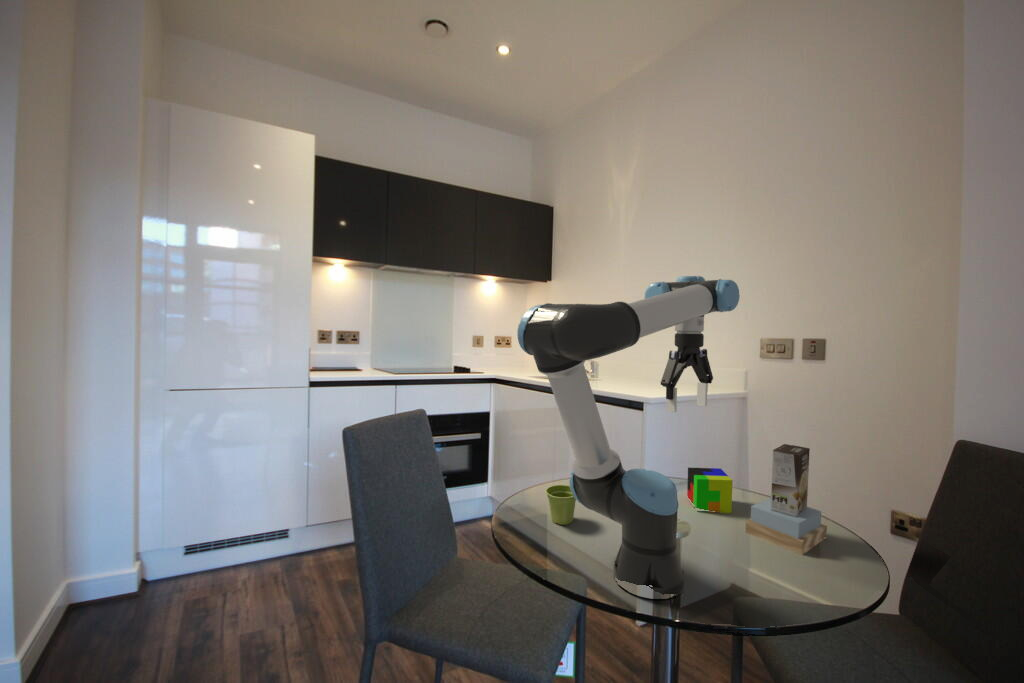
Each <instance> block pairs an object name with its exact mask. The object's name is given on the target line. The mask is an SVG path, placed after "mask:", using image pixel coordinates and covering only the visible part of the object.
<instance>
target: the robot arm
mask: <svg viewBox="0 0 1024 683" xmlns="http://www.w3.org/2000/svg"><path fill="white" fill-rule="evenodd" d="M740 296H741V295H740V289H739V286H738V284H737V282H735V280H732V279H721V278H720V279H719V278H718V279H712V280H711V279H710V280H706V279H705V277H703V276H701V275H682V276H679V277H677V278H676V281H673V282H672V281H670V282H667V281H666V282H665V281H658V282H657V281H656V282H652V283H650V284H649V285H648V286H647V288H646V289H645V292H644V298H642V299H640V300H637V301H633V302H629V303H627V302H625V301H615V302H611V303H604V304H603V303H602V304H601V303H600V304H597V303H595V304H591V303H590V304H589V303H548V302H547V303H544V304H537V305H535V306H532V307H530V308H529V309H527V310H526V311H525V312H524V313H523V315H522V317H521V318H520V322H519V324H518V327H517V330H516V331H517V332H516V333H517V341H518V345H519V346H520V348H521V349H522V350H523V352H525V353H526V354H527V355H530V356H533V359H534V362H535V364H536V367H537V371H538V372H539V373H541V374H543V375H545V376H547V379H548V382H549V385H550V388H551V391H552V394H553V396H554V399H555V402H556V403H555V404H556V405H557V408H558V412H559V414H560V417H561V420H562V423H563V427H564V429H565V433H566V435H567V439H568V441H569V444H570V446H571V449H572V452H573V455H574V459H575V460H574V462H573V463H572V468H571V471H570V476H571V477H570V478H569V480H568V482H569V486H570V489H571V492H572V494H573V496H574V498H575V499H576V501H577V502H578V503H579V504H581V505H582V506H583V507H585V508H587V509H588V510H591V511H594V512H595V513H597V514H600V515H602V516H604V517H605V518H608V519H609V520H612V521H614V522H616V523H618V524H619V525H621V544H620V547H619V549H618V552H617V554H616V557H615V560H614V563H613V574H614V575H613V577H614V576H615V577H616V578H617V579H618V580H620V581H626V582H629V583H633V584H636V585H646V586H649V585H652V586H653V587H650V586H649V587H650V588H651V589H653V590H654V591H655V592H659V593H661V594H663V595H664V594H676V595H677V594H679V593H680V592H681V591H682V590H683V591H684V589H683V588H685V574H684V571H683V568H682V566H681V561H680V558H679V554H678V551H677V550H678V549H677V541H678V540H677V537H678V510H679V500H678V489H677V486H676V485H675V482H673V480H672V479H670V478H669V477H668V476H666V475H665V474H662V473H661V472H658V471H655V470H651V469H649V470H648V469H646V468H632V469H629V470H625V469H624V467H623V465H622V460H621V458H620V455H619V454H618V452H616V451H615V450H614V449H611V447H610V444H609V441H608V438H607V435H606V431H605V428H604V424H603V422H602V418H601V416H600V412H599V408H598V406H597V402H596V399H595V396H594V393H593V389H592V387H591V384H590V380H589V376H588V373H587V371H586V367H585V365H584V364H585V362H586V361H591V360H594V359H595V360H596V359H598V358H602V357H605V356H609V355H611V354H615V353H618V352H620V351H623V350H625V349H628V348H630V347H633V346H634V345H636V344H637V343H638V341H640V339H641V338H643V337H646V336H649V335H652V334H654V333H658V332H661V331H663V330H666V329H668V328H671V327H674V331H675V334H674V346H675V347H677V350H669V353H668V359H667V363H666V365H665V368H664V372H663V374H662V378H661V380H660V385H661V386H662V387H665V398H666V412H667V411H668V412H673V413H676V412H677V409H678V408H677V407H678V404H677V403H678V402H677V401H678V400H677V399H678V387H676V386H677V384H678V382H679V380H680V378H681V376H682V374H683V372H684V371H685V369H687V368H688V367H691V368H692V370H693V372H694V374H695V375H696V377H697V380H698V382H696V383H697V384H696V385H697V387H696V388H697V389H696V405H697V406H701V407H707V406H708V405H707V404H708V403H707V402H708V389H709V388H708V386H709V384H712V382H713V380H714V376H713V372H712V369H711V368H712V367H711V365H710V362H709V357H708V349H706V348H703V347H704V340H705V339H704V338H705V336H704V333H702V332H704V331H705V315H708V314H710V313H714V312H715V313H718V312H719V313H724V312H725V313H726V312H731V311H733V310H735V309H736V307H738V305H739V302H740ZM683 591H682V592H683ZM682 592H681V593H682ZM681 593H680V594H681ZM680 594H679V595H680Z"/></svg>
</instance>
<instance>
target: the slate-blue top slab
mask: <svg viewBox="0 0 1024 683" xmlns="http://www.w3.org/2000/svg"><path fill="white" fill-rule="evenodd" d="M750 518H751V521H753V522H755V523H758V524H761V525H763V526H766V527H768V528H771V529H774V530H776V531H779V532H781V533H784V534H787V535H789V536H792V537H794V538H797V539H799V538H801V537H803V536H804V535H806V534H808V533H810V532H811V531H813V530H815V529H817V528H818V527H820V526H821V524H822V511H821V510H819V509H815V508H814V507H813V508H812V507H810V506H809V507H808V506H807V507H806V508H805V509H804V510H803V511H802V512H801V513H800V514H799V515H798V516H797V517H795V516H791V515H788V514H784V513H781V512H777V511H774V510H771V497H769V498H766V499H765V500H762V501H760V502H758V503H756V504H753V505H751V506H750Z"/></svg>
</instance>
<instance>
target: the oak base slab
mask: <svg viewBox="0 0 1024 683" xmlns="http://www.w3.org/2000/svg"><path fill="white" fill-rule="evenodd" d="M827 532H828V526H827V525H825V524H822V523H821V526H820V527H818V528H817V529H815V530H813V531H811V532H810V533H808V534H806V535H804V536H803V537H801V538H799V539H797V538H794V537H792V536H789V535H787V534H784V533H781V532H779V531H776V530H774V529H771V528H768V527H766V526H763V525H761V524H758V523H755V522H753V521H751V517H750V518H748V519H746V520H745V533H746V534H748V535H749V536H750V535H751V536H754V537H756V538H758V539H761V540H763V541H766V542H768V543H770V544H773V545H776V546H778V547H781V548H784V549H786V550H789V551H791V552H793V553H796V554H799V555H800V556H802V555H804V554H805V553H807V552H809V551H810V550H812V549H813V548H815V547H816V546H817V544H818V543H819V542H820V541H821V540H823V539H824V538H825V537H826V538H827V536H828V535H827ZM823 541H824V540H823ZM820 543H821V542H820ZM820 543H819V544H820ZM819 544H818V545H819Z"/></svg>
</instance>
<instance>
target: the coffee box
mask: <svg viewBox="0 0 1024 683" xmlns="http://www.w3.org/2000/svg"><path fill="white" fill-rule="evenodd" d="M810 450H811V449H810V448H809V447H804V446H799V445H795V444H788V443H787V444H786V443H783V444H782V445H780V446H778V447H776V448H774V449H773V450H772V471H771V491H770V492H771V494H770V498H771V510H774V511H777V512H781V513H784V514H788V515H791V516H795V517H797V516H798V515H799V514H800V513H801V512H802V511H803V510H804V509H805V508H806V507H808V497H809V496H808V494H809V493H808V492H809V490H808V489H809V470H810V469H809V468H810V467H809V466H810V452H811V451H810Z"/></svg>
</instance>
